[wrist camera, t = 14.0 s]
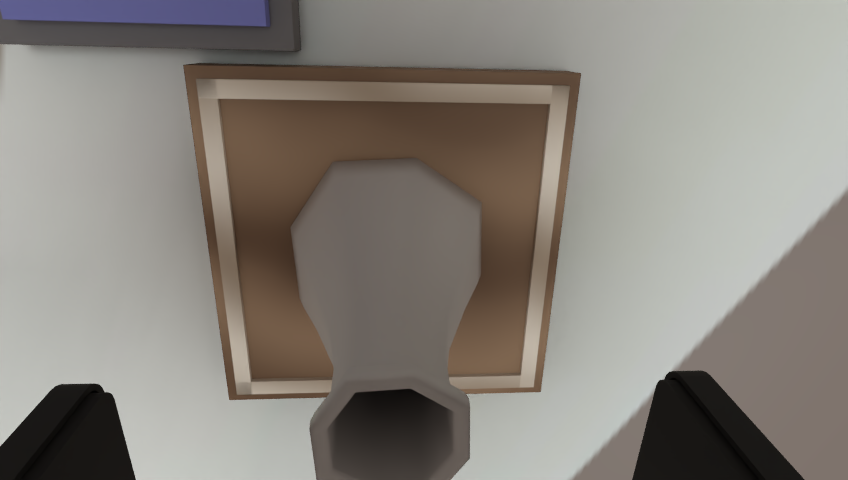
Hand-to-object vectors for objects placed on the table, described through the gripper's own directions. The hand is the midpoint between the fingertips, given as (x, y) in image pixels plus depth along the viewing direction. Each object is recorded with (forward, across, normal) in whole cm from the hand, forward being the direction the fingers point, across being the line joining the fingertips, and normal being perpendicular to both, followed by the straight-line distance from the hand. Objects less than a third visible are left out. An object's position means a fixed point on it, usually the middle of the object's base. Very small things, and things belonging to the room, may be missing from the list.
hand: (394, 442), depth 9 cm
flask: (+11, 0, +1) cm, 11 cm away
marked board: (+12, 0, +1) cm, 12 cm away
